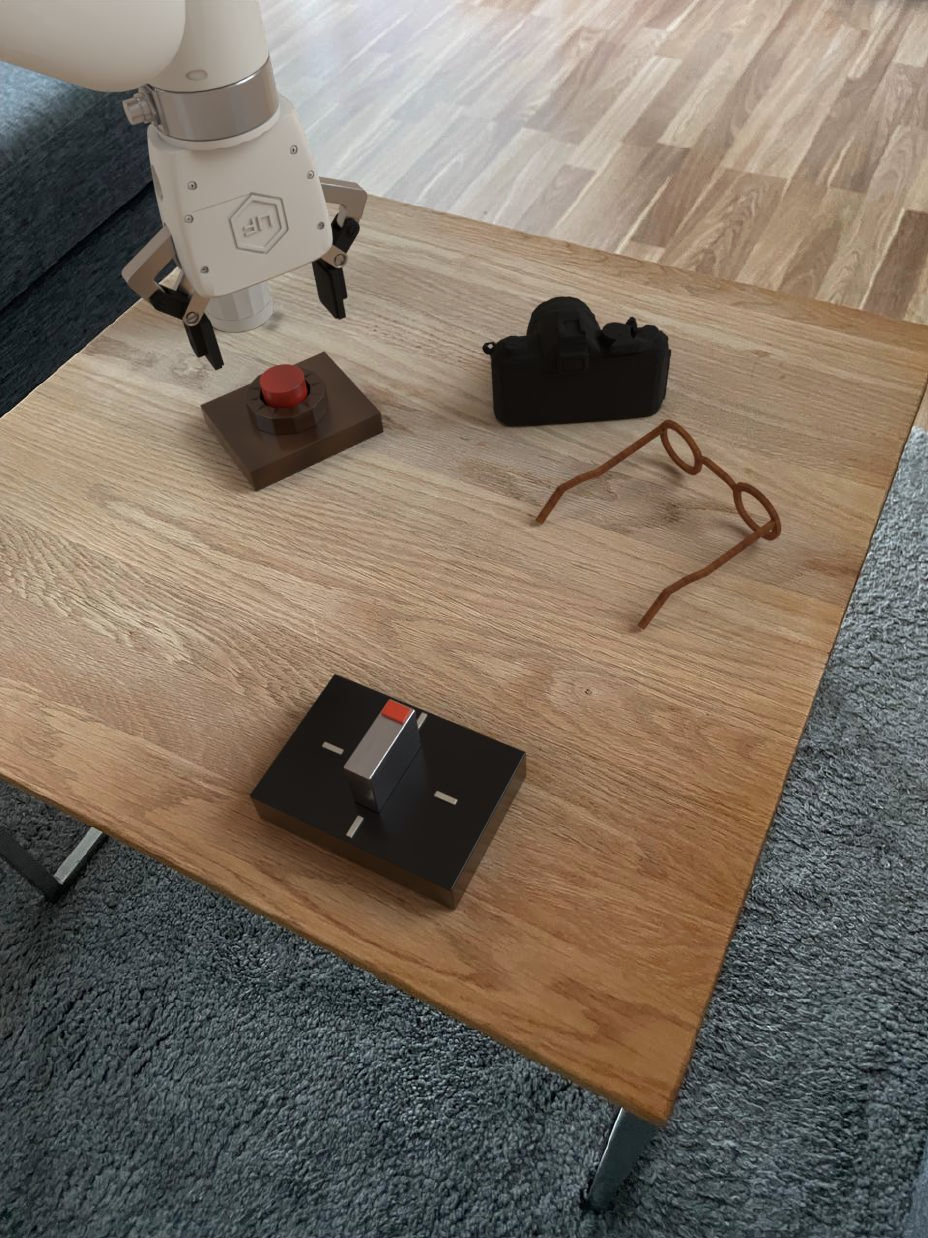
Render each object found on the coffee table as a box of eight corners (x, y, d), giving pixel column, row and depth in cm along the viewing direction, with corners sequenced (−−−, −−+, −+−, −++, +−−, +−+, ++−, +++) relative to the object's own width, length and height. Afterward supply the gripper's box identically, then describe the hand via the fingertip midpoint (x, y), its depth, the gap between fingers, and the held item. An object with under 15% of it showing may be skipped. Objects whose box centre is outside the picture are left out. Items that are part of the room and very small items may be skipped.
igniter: (256, 491, 82) (244, 455, 79) (206, 424, 88) (193, 388, 85) (384, 431, 86) (378, 394, 83) (328, 370, 91) (321, 333, 88)
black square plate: (259, 818, 64) (248, 794, 62) (341, 697, 70) (334, 671, 67) (455, 911, 60) (451, 890, 57) (527, 775, 65) (526, 750, 63)
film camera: (652, 348, 90) (662, 258, 83) (669, 421, 85) (681, 331, 77) (482, 359, 91) (477, 270, 84) (486, 433, 85) (482, 344, 78)
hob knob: (379, 813, 61) (369, 777, 57) (353, 801, 61) (342, 765, 58) (421, 745, 63) (415, 707, 60) (397, 734, 64) (388, 696, 61)
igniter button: (276, 415, 82) (271, 398, 81) (256, 391, 84) (252, 375, 83) (315, 397, 84) (311, 380, 82) (295, 375, 85) (291, 358, 84)
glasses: (779, 551, 75) (792, 504, 71) (640, 633, 71) (646, 588, 68) (664, 452, 82) (670, 404, 78) (531, 522, 79) (531, 475, 75)
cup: (248, 276, 101) (218, 159, 91) (299, 308, 97) (273, 190, 88) (182, 314, 98) (144, 197, 88) (232, 348, 94) (197, 230, 85)
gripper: (93, 168, 56) (181, 408, 69) (371, 74, 61) (402, 316, 74) (53, 114, 60) (143, 351, 73) (315, 30, 65) (355, 267, 78)
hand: (273, 333), depth 74 cm, fingers open, 9 cm apart
